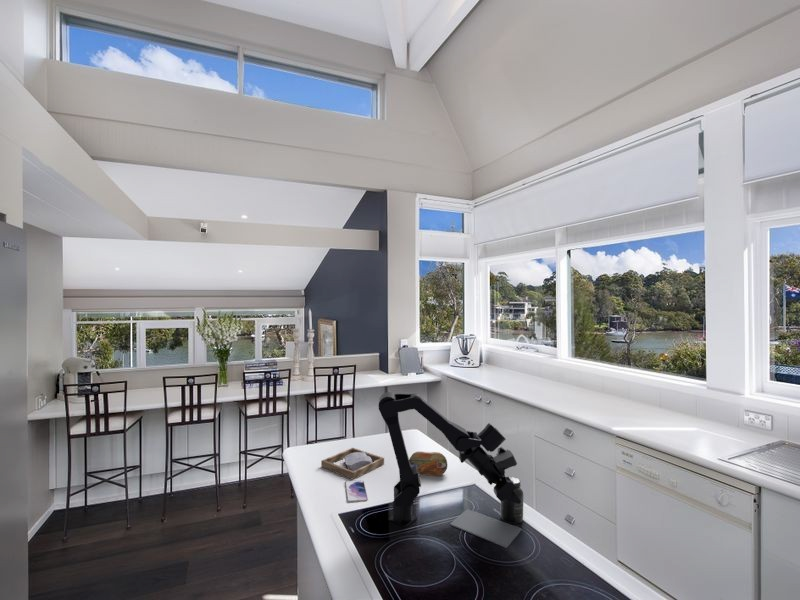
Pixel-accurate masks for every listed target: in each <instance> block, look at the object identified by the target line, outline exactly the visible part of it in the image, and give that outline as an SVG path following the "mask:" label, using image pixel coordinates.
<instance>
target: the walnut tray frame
mask: <svg viewBox="0 0 800 600" xmlns="http://www.w3.org/2000/svg"><path fill="white" fill-rule="evenodd" d="M356 452H357V453H358V452H365V453H366V455H367V456H369V457H370V458H371V459H372V463H370V464H368V465H366V466H363V467H361V468H359V469H357V470H355V471H351V470H349V469H348V468H345V467H343V466H340V465H338V464H335V463H336V462H339V461H341V460H343V458H344V459H345V456H347V455H349V454H351V453H356ZM373 461H374V462H373ZM334 462H335V463H334ZM320 465H321V468H323V469H326V470H328V471H331V472H334V473H336V474H339V475H341V476H344V477H346V478H349V479H351V480H352V481H355V480H357V478H359V477H360V478H361V476H363V475H365V474H367V473H369V472H372V471H373V470H375V469H378V468H380V467H382V466H383V465H385V457H383V456H379V455H376V454H374V453H370V452H367V451H364V450H361V449H358V448H355V447H351V448H349V449H346V450H343V451H342V452H339V453H337V454H334V455H331V456H330V457H327V458H324V459H322V460H321V464H320Z"/></svg>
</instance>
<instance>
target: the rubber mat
mask: <svg viewBox="0 0 800 600" xmlns="http://www.w3.org/2000/svg"><path fill="white" fill-rule="evenodd" d="M449 525H450V526H451V527H454V528H456V529H459V530H461V531H463V532H466V533H469V534H471V535H474V536H475V537H478V538H481V539H484V540H486V541H489V542H491V543H493V544H496V545H498V546H501V547H503V548H506V549H507V548H508V547H509V546H510V545H511V544H512V542H513V541H514V540H515V539H516V538H517V536H518V535H519V534H520V533H521V532H522V528H521V527H517V526H515V525H512V524H511V523H508V522H506V521H503V520H499V519H496V518H493V517H491V516H488V515H486V514H482V513H480V512H477V511H474V510H472V509H469V508H466V509H465V511H463V512H462V513H461V514H460V515H458V516H457V517H456V518H454V520H452V522H450V523H449Z"/></svg>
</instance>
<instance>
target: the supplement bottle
mask: <svg viewBox="0 0 800 600" xmlns="http://www.w3.org/2000/svg"><path fill="white" fill-rule="evenodd" d="M508 477H509V478H510V479H511V480H512V481H513V483H514V484H515V486H516V489H515V490H514V491H515V493H516V494H517V496H518V497H519V499H520V500H521V503H520V504H517V503H514V502H511V501H508V500H505V499H504V500H503V501H500V507H499V509H500V512H499V513H500V518H501V519H502V521H503V522H505V523H507V524H511V525H512V524H515V525H516V524H520V523H521V522H523V520H524V494H525V493H524V490H523V489H522V488H521V479H520V478H518V477H515V476H508Z"/></svg>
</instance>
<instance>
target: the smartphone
mask: <svg viewBox="0 0 800 600" xmlns="http://www.w3.org/2000/svg"><path fill="white" fill-rule="evenodd" d="M344 487H345V496H346V497H345V498H346V502H347V503H349V504H350V502H351V503H359V502H360V501H363V502H368V501H369V497H368V494H367V490H366V485H365V482H364V480H362V479H360V480H347V481H344ZM367 500H368V501H367ZM360 503H361V502H360Z"/></svg>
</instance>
